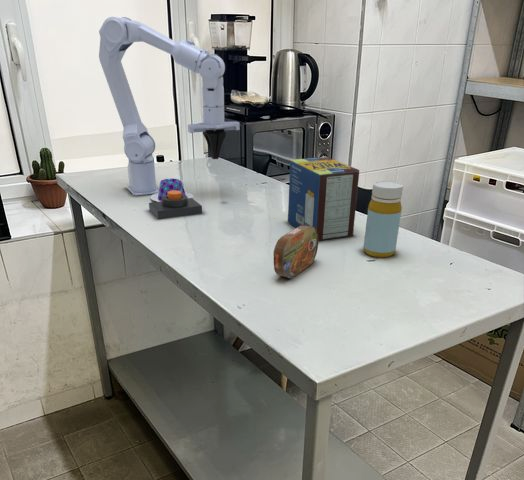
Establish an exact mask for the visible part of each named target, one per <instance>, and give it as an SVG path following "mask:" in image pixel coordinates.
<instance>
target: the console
mask: <svg viewBox="0 0 524 480" xmlns="http://www.w3.org/2000/svg"><path fill="white" fill-rule="evenodd" d="M181 195H182V194H181ZM148 210H149V212H150V213H151V214H152V215H153V216H154V217H155V218H156V219H157V220H165V219H173V218H181V217H188V216H195V215H203V205H201V203H199V202H198V201H197V200H195V199H194V198H188V197H187V196H186V195H182V198H181V199H177V200H171V199H168V195H165V196H163V197H162V201H160V202H157V201H152V202H148Z"/></svg>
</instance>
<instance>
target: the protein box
mask: <svg viewBox="0 0 524 480" xmlns="http://www.w3.org/2000/svg"><path fill="white" fill-rule="evenodd" d="M359 178H360V169H357V168H355V167H353V166H350V165H348V164H345V163H343V162H340V161H338V160H335V159H333V158H330V157H329V156H321V157H308V158H297V159H290V160H289V182H288V184H289V186H288V188H289V189H288V207H287V209H288V210H287V223H288V224H290V225H291V226H293V227H294V228H297V227H299V226H313V227H315V228H316V230H317V233H318V242H319V241H320V242H321V241H326V240H327V241H328V240H334V239H340V238H348V237H353V236H354V227H355V221H356V219H355V218H356V210H357V199H358V189H359V181H360V180H359Z"/></svg>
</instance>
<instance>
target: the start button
mask: <svg viewBox="0 0 524 480" xmlns="http://www.w3.org/2000/svg"><path fill="white" fill-rule="evenodd" d="M167 194H168V199H171V200H177V199H181V198H182V195H181V191H177V190H173V191H168V192H167Z"/></svg>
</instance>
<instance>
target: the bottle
mask: <svg viewBox="0 0 524 480" xmlns="http://www.w3.org/2000/svg"><path fill="white" fill-rule="evenodd" d="M403 191H404V185H403V184H402V182H401V183H400V182H398V181H392V180H377V181H374V182H373V183H372V191H371V200H370V201H369V204H368V207H367V215H366V216H367V217H366V224H365V232H364V239H363V251H364V253H365V254H366V255H367V256H371V257H374V258H389V257H391V256H392V255H394V254H395V253H396V249H397V243H398V236H399V230H400V225H401V224H400V223H401V217H402V209H403V206H402V202H401V201H402V197H403Z"/></svg>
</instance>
